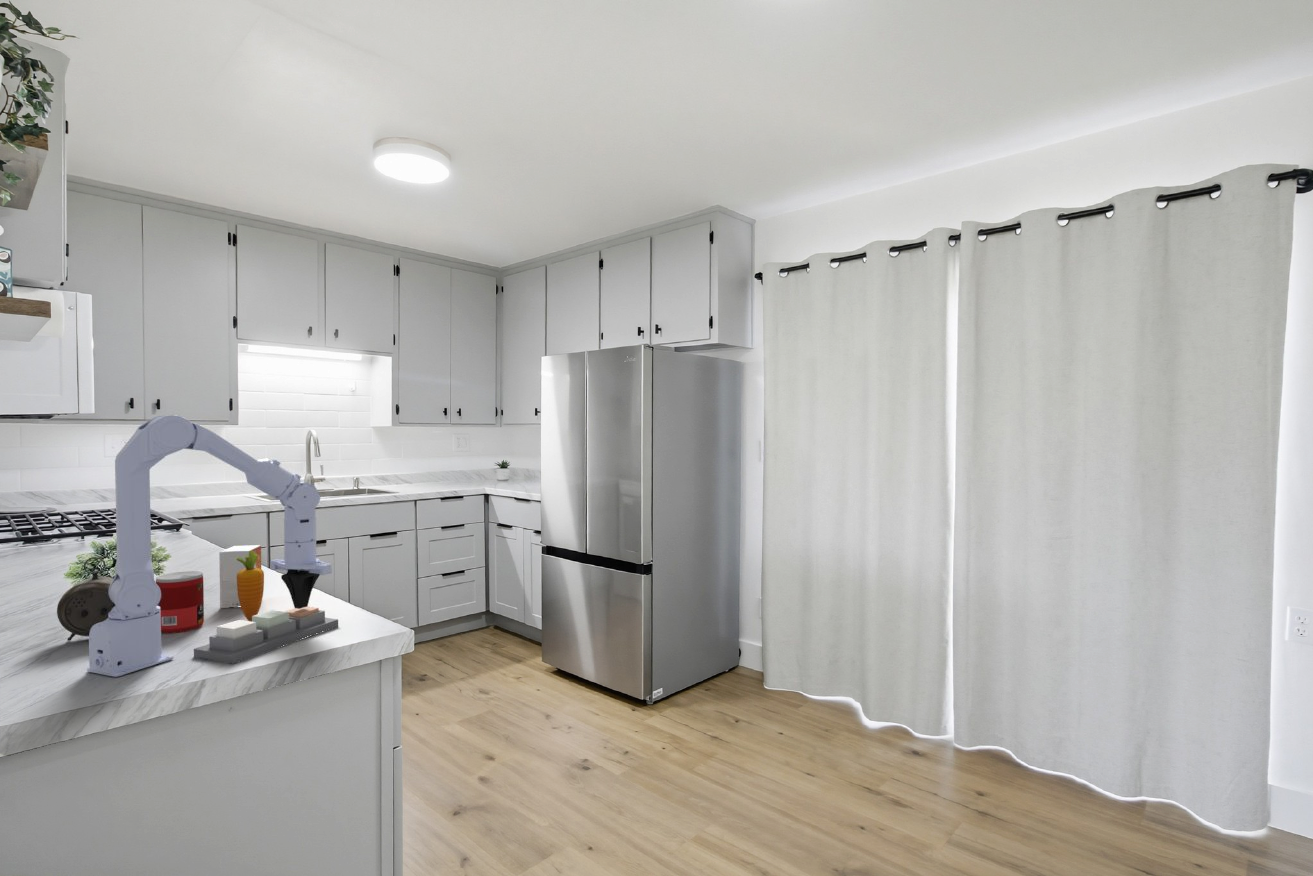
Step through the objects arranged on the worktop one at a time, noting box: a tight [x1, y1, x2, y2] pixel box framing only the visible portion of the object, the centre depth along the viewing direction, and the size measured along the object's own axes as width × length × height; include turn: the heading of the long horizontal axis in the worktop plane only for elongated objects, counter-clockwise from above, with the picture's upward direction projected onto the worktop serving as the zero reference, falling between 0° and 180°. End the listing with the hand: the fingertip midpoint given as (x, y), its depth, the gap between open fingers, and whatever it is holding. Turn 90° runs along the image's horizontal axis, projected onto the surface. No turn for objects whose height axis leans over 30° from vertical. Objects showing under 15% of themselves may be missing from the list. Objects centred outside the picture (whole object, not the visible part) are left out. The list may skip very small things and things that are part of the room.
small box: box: [219, 544, 262, 609], centre depth 157 cm, size 8×6×13 cm
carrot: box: [237, 551, 265, 622], centre depth 142 cm, size 5×5×15 cm
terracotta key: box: [283, 606, 320, 618], centre depth 136 cm, size 4×4×2 cm
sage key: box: [252, 609, 289, 628], centre depth 130 cm, size 4×4×2 cm
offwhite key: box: [216, 619, 256, 639], centre depth 123 cm, size 4×4×2 cm
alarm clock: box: [56, 556, 116, 641], centre depth 131 cm, size 11×5×16 cm, turn 114°
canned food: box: [155, 570, 205, 634], centre depth 138 cm, size 8×8×11 cm
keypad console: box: [193, 609, 339, 665], centre depth 130 cm, size 23×10×4 cm, turn 159°
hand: (301, 607), depth 136 cm, fingers closed
